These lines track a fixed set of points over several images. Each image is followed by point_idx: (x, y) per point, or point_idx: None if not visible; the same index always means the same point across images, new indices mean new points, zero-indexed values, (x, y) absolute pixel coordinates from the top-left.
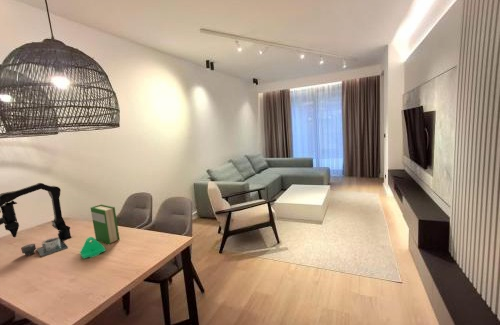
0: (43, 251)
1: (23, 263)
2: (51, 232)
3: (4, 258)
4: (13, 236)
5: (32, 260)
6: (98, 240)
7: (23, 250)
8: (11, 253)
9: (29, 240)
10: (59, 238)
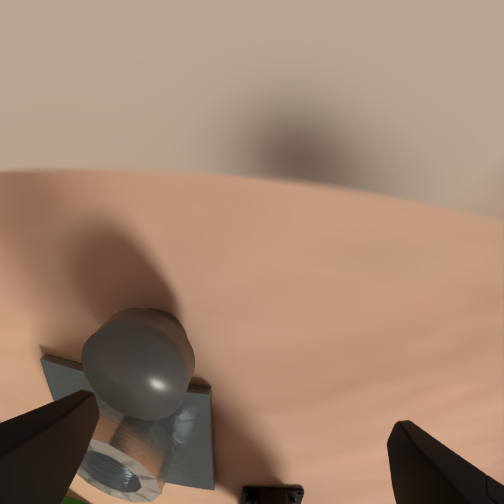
0: (95, 393)
1: (22, 267)
2: (477, 454)
3: (271, 180)
4: (67, 400)
5: (29, 311)
6: (77, 502)
7: (99, 328)
8: (357, 244)
9: (500, 368)
10: (259, 496)
